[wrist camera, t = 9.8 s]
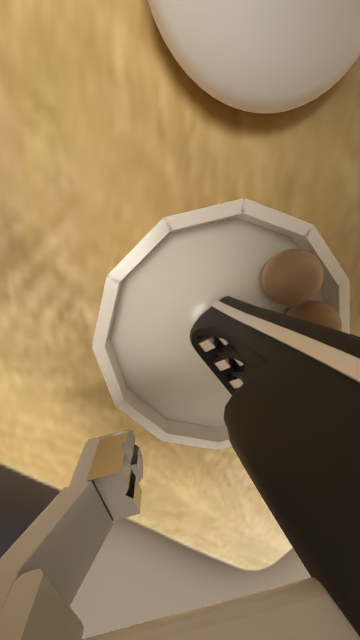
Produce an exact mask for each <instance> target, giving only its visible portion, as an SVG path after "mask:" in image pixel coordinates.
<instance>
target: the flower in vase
mask: <svg viewBox="0 0 360 640" xmlns="http://www.w3.org/2000/svg"><path fill="white" fill-rule="evenodd" d="M147 1H148V4H149V7H150V10H151V12H152V15H153V18H154V21H155V23H156V25H157V27H158V29H159V31H160V34H161V36H162V38H163V40H164V42H165V43H166V45H167V47H168V48H169V50H170V52H171V53H172V55H173V57H174V58H175V60H176V61H177V62H178V63H179V65H180V66H181V67H182V69H183V70H184V71H185V72H186V74H187V75H188V76H189V77H190V78H191V79H192V80H193V81H194V82H195V83H196V84H197V85H198V86H199V87H200V88H202V89H203V90H204V91H205V92H207V93H208V94H209V95H211V96H212V97H213V98H215V99H217V100H219V101H221V102H222V103H224V104H226V105H228V106H231V107H234V108H236V109H239V110H242V111H247V112H253V113H278V112H284V111H288V110H291V109H295V108H298V107H301V106H303V105H305V104H307V103H309V102H311V101H313V100H315V99H316V98H318V97H319V96H320V95H322V94H323V93H325V92H326V91H328V90H329V89H330V88H331V87H332V86H333V85H334V84H336V83H337V82H338V81H339V80H340V79H341V78H342V77H343V76H344V75H345V74H346V72H347V71H348V70H349V69H350V68H351V67H352V66H353V64H354V63H355V61H356V60H357V59H358V57H359V56H360V0H147Z"/></svg>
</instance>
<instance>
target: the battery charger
mask: <svg viewBox="0 0 360 640" xmlns="http://www.w3.org/2000/svg"><path fill="white" fill-rule="evenodd" d="M190 342H191V344H192V346H193V348H194V349H195V351H196V352H197V353H198V355H199V356H200V357H201V358H202V360H203V361H204V362H205V363H206V364H207V366H208V367H209V368H210V369H211V371H212V372H213V373H214V374H215V375H216V377H217V378H218V379H219V380H220V382H221V383H222V384H223V385H224V386H225V388H226V389H227V390H228V391H229V393H230V394H231V395H232V396H231V398H230V399H229V401H228V403H227V404H226V406H225V410H224V422H225V425H226V426H227V429H228V435H229V441H230V443H231V445H232V447H233V448H234V450H235V452H236V454H237V455H238V457H239V459H240V461H241V462H242V464H243V466H244V468H245V469H246V471H247V473H248V474H249V476H250V478H251V479H252V481H253V483H254V484H255V486H256V488H257V489H258V491H259V493H260V494H261V496H262V498H263V499H264V501H265V503H266V504H267V506H268V508H269V509H270V511H271V512H272V514H273V516H274V517H275V519H276V521H277V522H278V524H279V526H280V527H281V529H282V530H283V532H284V534H285V535H286V537H287V539H288V540H289V542H290V543H291V545H292V547H293V548H294V550H295V551H296V553H297V555H298V556H299V558H300V559H301V561H302V563H303V564H304V566H305V567H306V569H307V571H308V572H309V574H310V575H311V577H314V578H316V579H317V580H318V581H319V582H320V583H321V584H322V585H323V587H324V588H325V589H326V591H327V592H328V593H329V595H330V596H331V598H332V599H333V600H334V602H335V603H336V605H337V606H338V607H339V609H340V610H341V611H342V613H343V614H344V616H345V617H346V618H347V620H348V621H349V623H350V624H351V625H352V627H353V628H354V629H355V631H356V632H357V634H358V635H359V636H360V337H358V336H355V335H352V334H348V333H345V332H342V331H339V330H336V329H333V328H329V327H326V326H323V325H320V324H316V323H313V322H310V321H306V320H303V319H299V318H296V317H293V316H289V315H286V314H282V313H279V312H275V311H272V310H268V309H264V308H261V307H258V306H255V305H252V304H249V303H246V302H243V301H241V300H238V299H235V298H233V297H230V296H225V297H223V298H221V299H220V300H219V301H218V300H216V301H215V302H214V303H212V304H211V307H210V308H209V309H208V310H206V311H205V312H204V313H203V314H202V315H201V316H200V317H199V318H198V319H197V321H196V322H195V323H194V325H193V327H192V328H191V331H190Z"/></svg>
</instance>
